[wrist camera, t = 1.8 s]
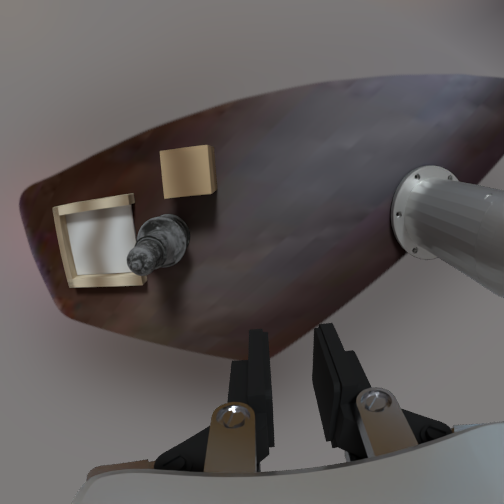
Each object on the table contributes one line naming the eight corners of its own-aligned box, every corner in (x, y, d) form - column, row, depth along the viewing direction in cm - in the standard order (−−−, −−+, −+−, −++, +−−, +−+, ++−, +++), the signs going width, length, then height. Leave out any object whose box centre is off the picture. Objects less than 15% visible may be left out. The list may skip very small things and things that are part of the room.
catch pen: (133, 193, 35) (128, 194, 33) (147, 279, 38) (142, 285, 36) (59, 205, 35) (52, 207, 33) (75, 282, 38) (69, 287, 37)
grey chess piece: (181, 265, 38) (152, 309, 26) (140, 245, 37) (98, 280, 25) (200, 224, 36) (175, 253, 25) (157, 203, 35) (115, 223, 24)
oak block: (213, 147, 33) (207, 144, 29) (217, 189, 35) (211, 193, 30) (172, 152, 34) (159, 151, 29) (176, 193, 35) (164, 198, 30)
